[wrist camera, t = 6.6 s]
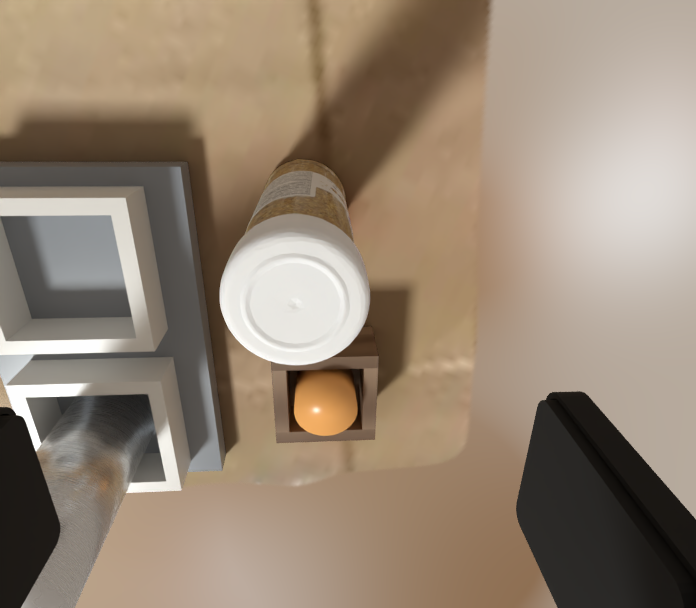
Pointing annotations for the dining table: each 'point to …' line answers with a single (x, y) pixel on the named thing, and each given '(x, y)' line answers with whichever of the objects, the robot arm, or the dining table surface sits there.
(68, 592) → the grey domed bottle
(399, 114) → the dining table surface
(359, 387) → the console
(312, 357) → the sprinkles bottle
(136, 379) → the double square holder tray
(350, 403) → the button
